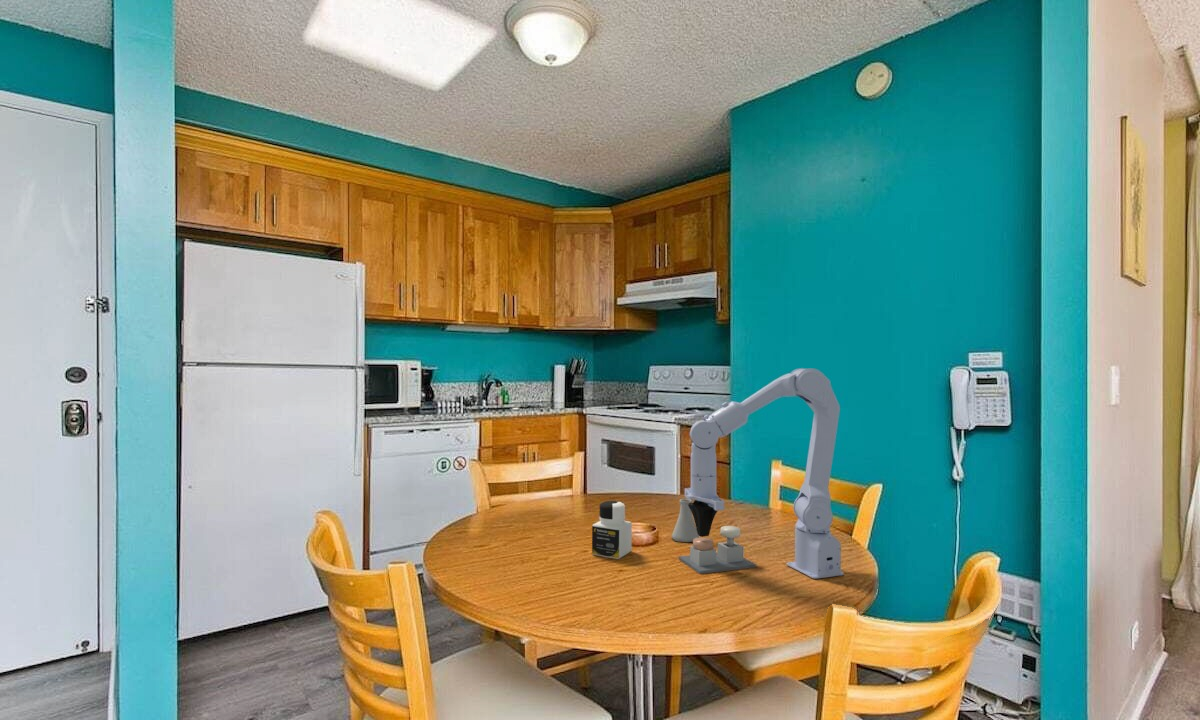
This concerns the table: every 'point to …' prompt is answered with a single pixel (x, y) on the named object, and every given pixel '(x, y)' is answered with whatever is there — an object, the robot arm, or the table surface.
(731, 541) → the cream knob
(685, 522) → the flask
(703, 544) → the terracotta knob
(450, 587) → the table surface
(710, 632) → the table surface
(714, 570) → the knob mount
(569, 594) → the table surface
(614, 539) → the medicine bottle
